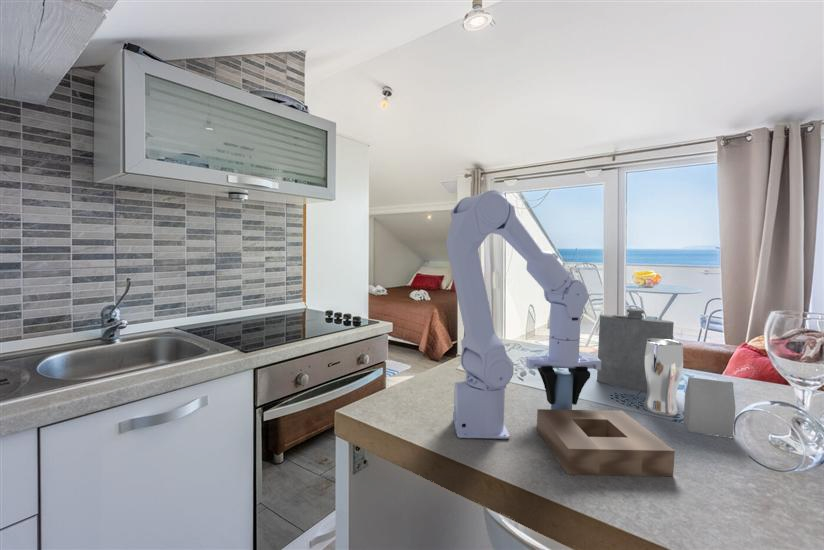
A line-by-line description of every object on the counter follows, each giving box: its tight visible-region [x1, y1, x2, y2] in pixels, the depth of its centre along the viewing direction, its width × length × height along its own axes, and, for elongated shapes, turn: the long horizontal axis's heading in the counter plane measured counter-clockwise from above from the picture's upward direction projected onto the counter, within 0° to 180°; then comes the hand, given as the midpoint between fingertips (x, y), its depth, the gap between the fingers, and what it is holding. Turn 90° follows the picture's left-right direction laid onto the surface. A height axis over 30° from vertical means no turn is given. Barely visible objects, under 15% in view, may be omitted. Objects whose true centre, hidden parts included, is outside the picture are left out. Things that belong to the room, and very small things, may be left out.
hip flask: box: [596, 308, 675, 393], centre depth 93 cm, size 16×4×20 cm, turn 56°
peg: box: [550, 370, 573, 410], centre depth 75 cm, size 4×4×9 cm
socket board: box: [536, 408, 676, 477], centre depth 62 cm, size 16×14×4 cm
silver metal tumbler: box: [643, 338, 684, 417], centre depth 79 cm, size 7×7×15 cm
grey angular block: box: [682, 376, 737, 438], centre depth 70 cm, size 4×7×10 cm, turn 66°
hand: (561, 402), depth 75 cm, fingers closed on peg, 4 cm apart
